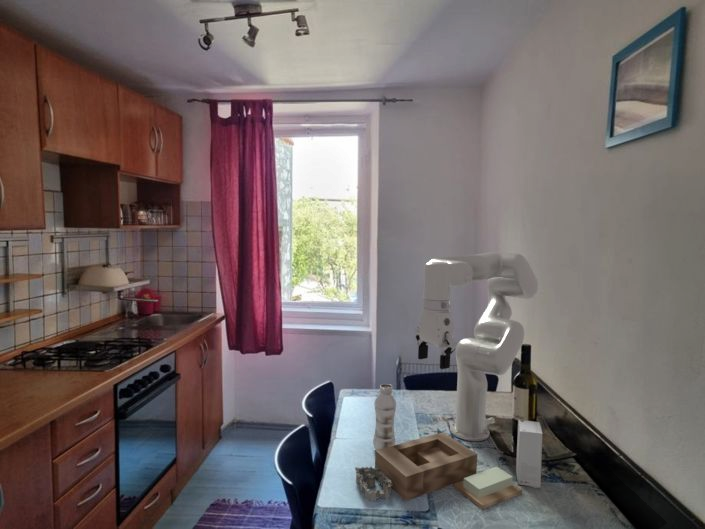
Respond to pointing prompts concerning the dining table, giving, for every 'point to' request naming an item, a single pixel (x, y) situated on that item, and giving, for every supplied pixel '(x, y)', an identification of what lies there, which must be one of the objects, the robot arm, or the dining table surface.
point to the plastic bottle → (384, 418)
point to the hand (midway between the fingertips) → (433, 363)
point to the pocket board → (425, 464)
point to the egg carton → (373, 482)
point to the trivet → (490, 498)
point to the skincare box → (529, 453)
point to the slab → (487, 482)
